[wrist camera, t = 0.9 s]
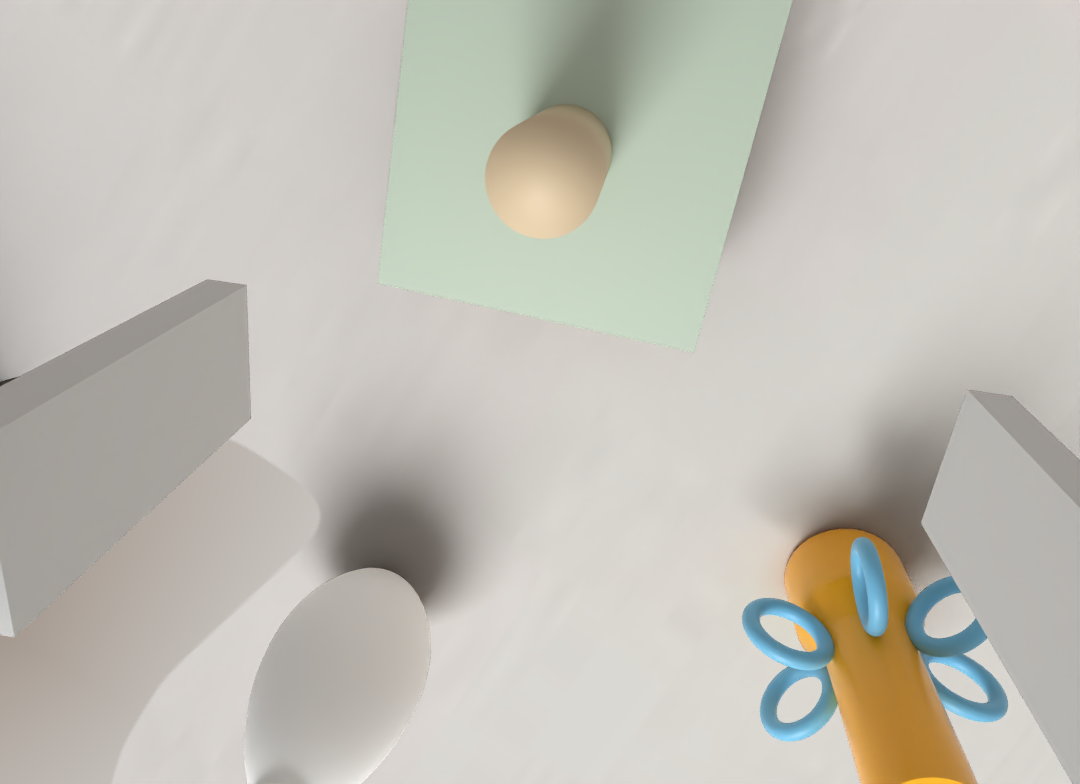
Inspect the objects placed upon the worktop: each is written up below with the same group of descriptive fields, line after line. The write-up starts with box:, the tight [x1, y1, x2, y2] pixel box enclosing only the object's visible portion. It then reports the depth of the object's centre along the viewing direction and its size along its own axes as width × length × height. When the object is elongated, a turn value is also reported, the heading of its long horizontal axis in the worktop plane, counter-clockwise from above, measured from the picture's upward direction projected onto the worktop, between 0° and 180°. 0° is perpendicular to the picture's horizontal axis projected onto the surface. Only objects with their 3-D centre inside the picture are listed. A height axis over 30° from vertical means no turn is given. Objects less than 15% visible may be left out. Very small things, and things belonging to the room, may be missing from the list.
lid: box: [378, 0, 793, 353], centre depth 27 cm, size 13×13×8 cm
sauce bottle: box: [244, 568, 431, 784], centre depth 39 cm, size 8×8×18 cm
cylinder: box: [742, 528, 1008, 784], centre depth 36 cm, size 12×10×15 cm
